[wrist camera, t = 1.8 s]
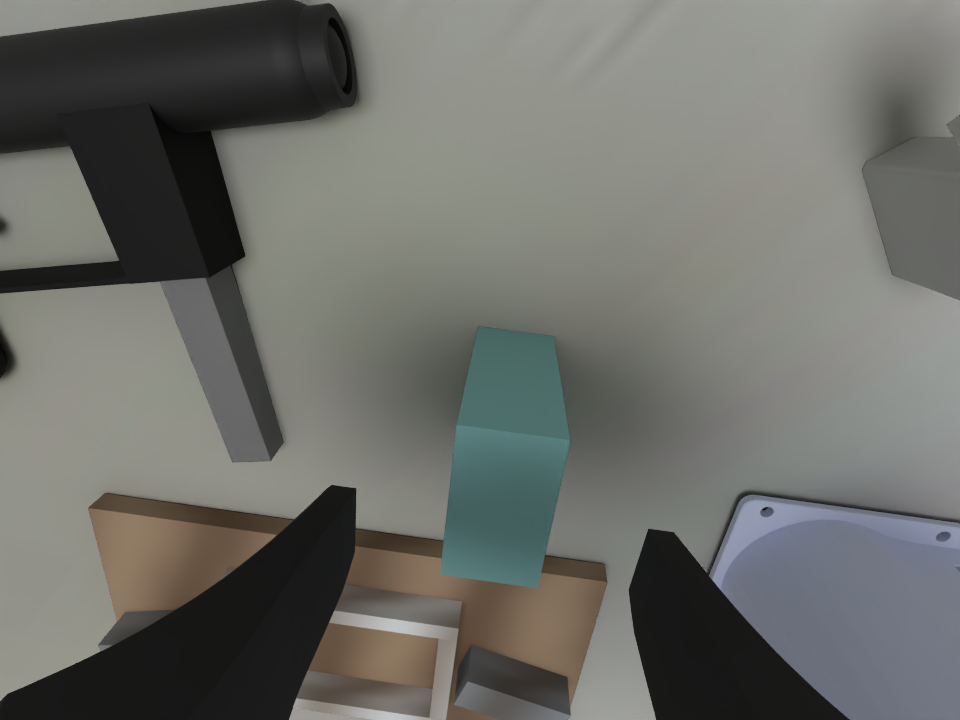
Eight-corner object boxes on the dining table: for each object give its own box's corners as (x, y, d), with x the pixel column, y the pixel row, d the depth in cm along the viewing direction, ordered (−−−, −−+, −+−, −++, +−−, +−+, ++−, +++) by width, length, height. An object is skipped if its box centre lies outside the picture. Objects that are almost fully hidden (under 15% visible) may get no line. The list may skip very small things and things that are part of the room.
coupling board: (604, 564, 23) (614, 618, 21) (557, 727, 28) (560, 786, 25) (104, 493, 24) (54, 537, 21) (145, 665, 28) (108, 718, 26)
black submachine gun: (410, 468, 19) (299, -76, 12) (-60, 485, 21) (-399, 31, 14) (424, 419, 22) (343, -43, 15) (10, 437, 24) (-240, 41, 17)
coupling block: (553, 336, 19) (570, 440, 13) (532, 449, 21) (537, 588, 15) (478, 326, 19) (456, 424, 13) (464, 439, 21) (440, 574, 15)
